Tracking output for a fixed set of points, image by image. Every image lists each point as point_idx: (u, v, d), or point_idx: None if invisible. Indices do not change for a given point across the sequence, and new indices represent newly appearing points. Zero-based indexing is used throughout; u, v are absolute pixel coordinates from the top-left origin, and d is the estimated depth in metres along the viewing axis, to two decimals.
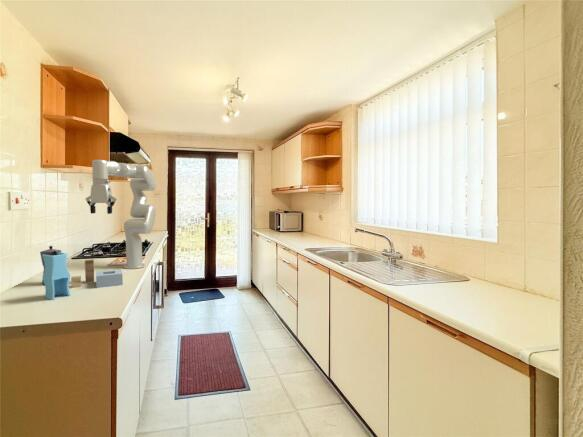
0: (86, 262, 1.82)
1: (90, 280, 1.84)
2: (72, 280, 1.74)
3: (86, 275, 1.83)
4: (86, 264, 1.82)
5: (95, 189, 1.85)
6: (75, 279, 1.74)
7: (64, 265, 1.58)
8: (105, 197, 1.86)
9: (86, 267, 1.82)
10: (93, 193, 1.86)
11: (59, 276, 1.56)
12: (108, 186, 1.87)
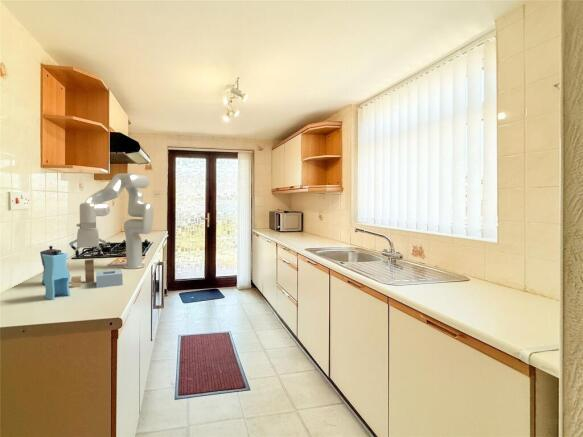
0: (86, 262, 1.82)
1: (90, 280, 1.84)
2: (72, 280, 1.74)
3: (86, 275, 1.83)
4: (86, 264, 1.82)
5: None
6: (75, 279, 1.74)
7: (64, 265, 1.58)
8: None
9: (86, 267, 1.82)
10: None
11: (59, 276, 1.56)
12: (78, 230, 1.81)
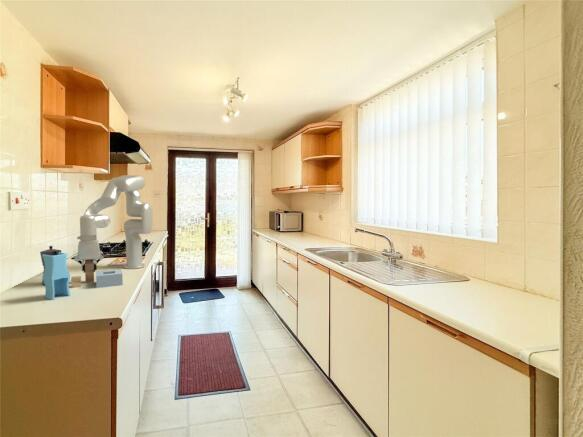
0: (86, 262, 1.82)
1: (90, 280, 1.84)
2: (72, 280, 1.74)
3: (86, 275, 1.83)
4: (86, 264, 1.82)
5: None
6: (75, 279, 1.74)
7: (64, 265, 1.58)
8: None
9: (86, 267, 1.82)
10: None
11: (59, 276, 1.56)
12: None
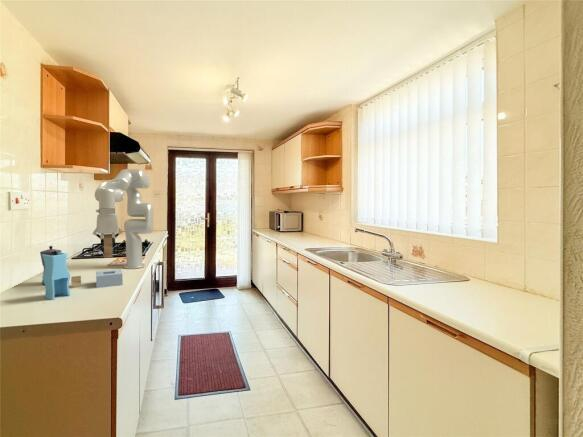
0: (105, 236, 1.78)
1: (108, 255, 1.79)
2: (72, 280, 1.74)
3: (105, 249, 1.78)
4: (105, 238, 1.78)
5: None
6: (75, 279, 1.74)
7: (64, 265, 1.58)
8: None
9: (104, 241, 1.78)
10: None
11: (59, 276, 1.56)
12: (97, 216, 1.77)
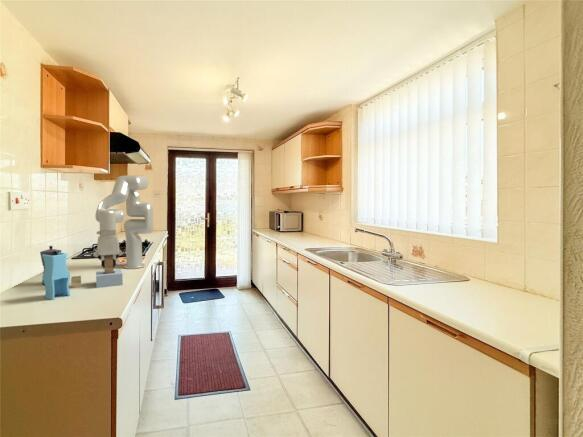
0: (105, 257, 1.79)
1: None
2: (72, 280, 1.74)
3: (105, 271, 1.79)
4: (105, 260, 1.79)
5: None
6: (75, 279, 1.74)
7: (64, 265, 1.58)
8: None
9: (105, 262, 1.79)
10: None
11: (59, 276, 1.56)
12: (98, 237, 1.78)
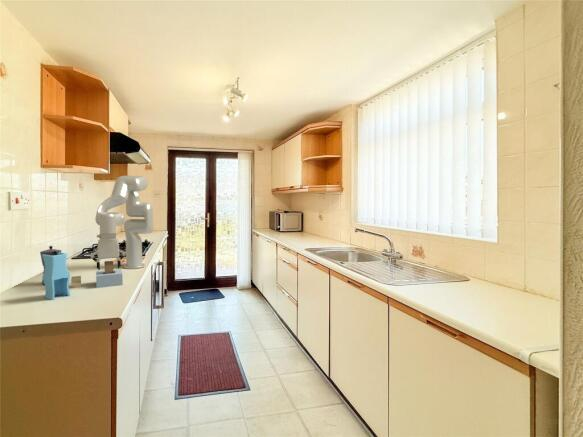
0: (106, 263, 1.79)
1: None
2: (72, 280, 1.74)
3: None
4: (106, 266, 1.79)
5: None
6: (75, 279, 1.74)
7: (64, 265, 1.58)
8: None
9: (106, 268, 1.79)
10: None
11: (59, 276, 1.56)
12: (98, 241, 1.78)
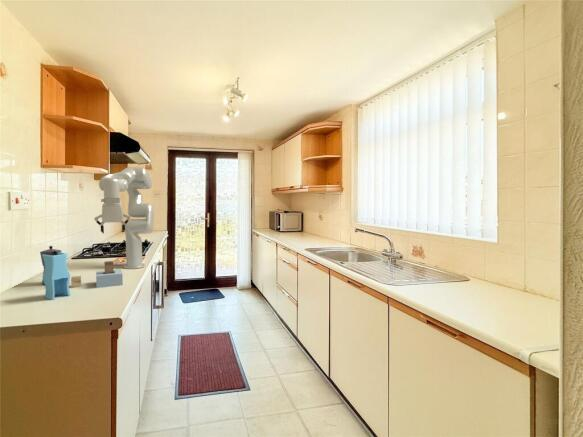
0: (106, 264, 1.79)
1: None
2: (72, 280, 1.74)
3: None
4: (106, 266, 1.79)
5: None
6: (75, 279, 1.74)
7: (64, 265, 1.58)
8: None
9: (106, 268, 1.79)
10: None
11: (59, 276, 1.56)
12: (102, 205, 1.82)
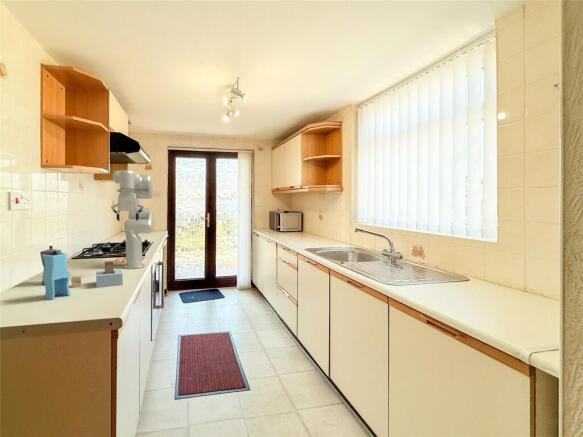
0: (106, 264, 1.79)
1: None
2: (72, 280, 1.74)
3: None
4: (106, 266, 1.79)
5: None
6: (75, 279, 1.74)
7: (64, 265, 1.58)
8: None
9: (106, 268, 1.79)
10: None
11: (59, 276, 1.56)
12: (118, 195, 1.97)
